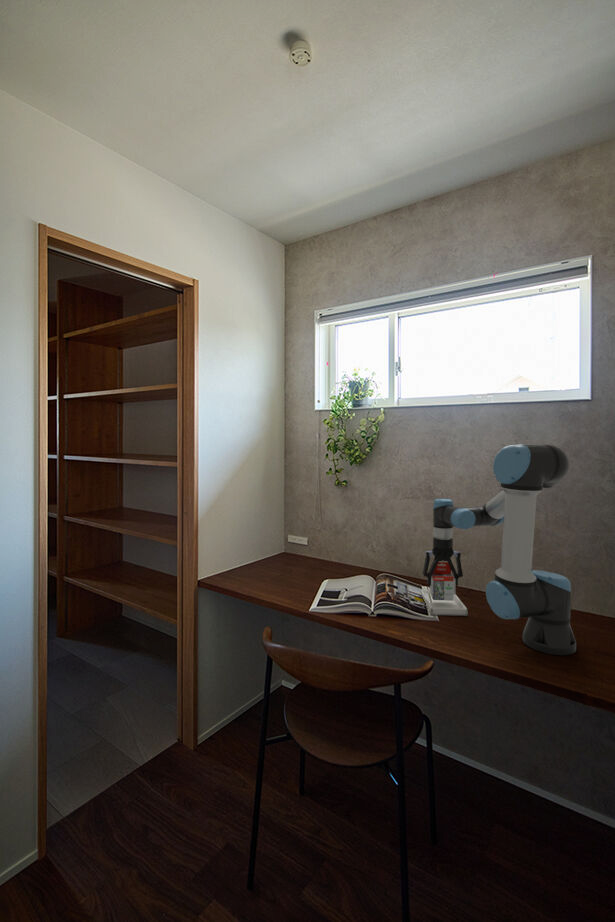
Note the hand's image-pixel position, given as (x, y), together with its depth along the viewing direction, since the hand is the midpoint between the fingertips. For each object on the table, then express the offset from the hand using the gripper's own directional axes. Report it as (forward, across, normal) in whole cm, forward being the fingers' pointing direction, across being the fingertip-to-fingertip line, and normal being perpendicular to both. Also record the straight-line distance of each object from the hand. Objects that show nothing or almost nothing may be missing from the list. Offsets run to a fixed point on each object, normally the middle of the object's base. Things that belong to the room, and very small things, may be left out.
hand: (442, 593), depth 175 cm
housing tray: (+5, 0, 0) cm, 5 cm away
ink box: (+2, 0, 0) cm, 2 cm away
